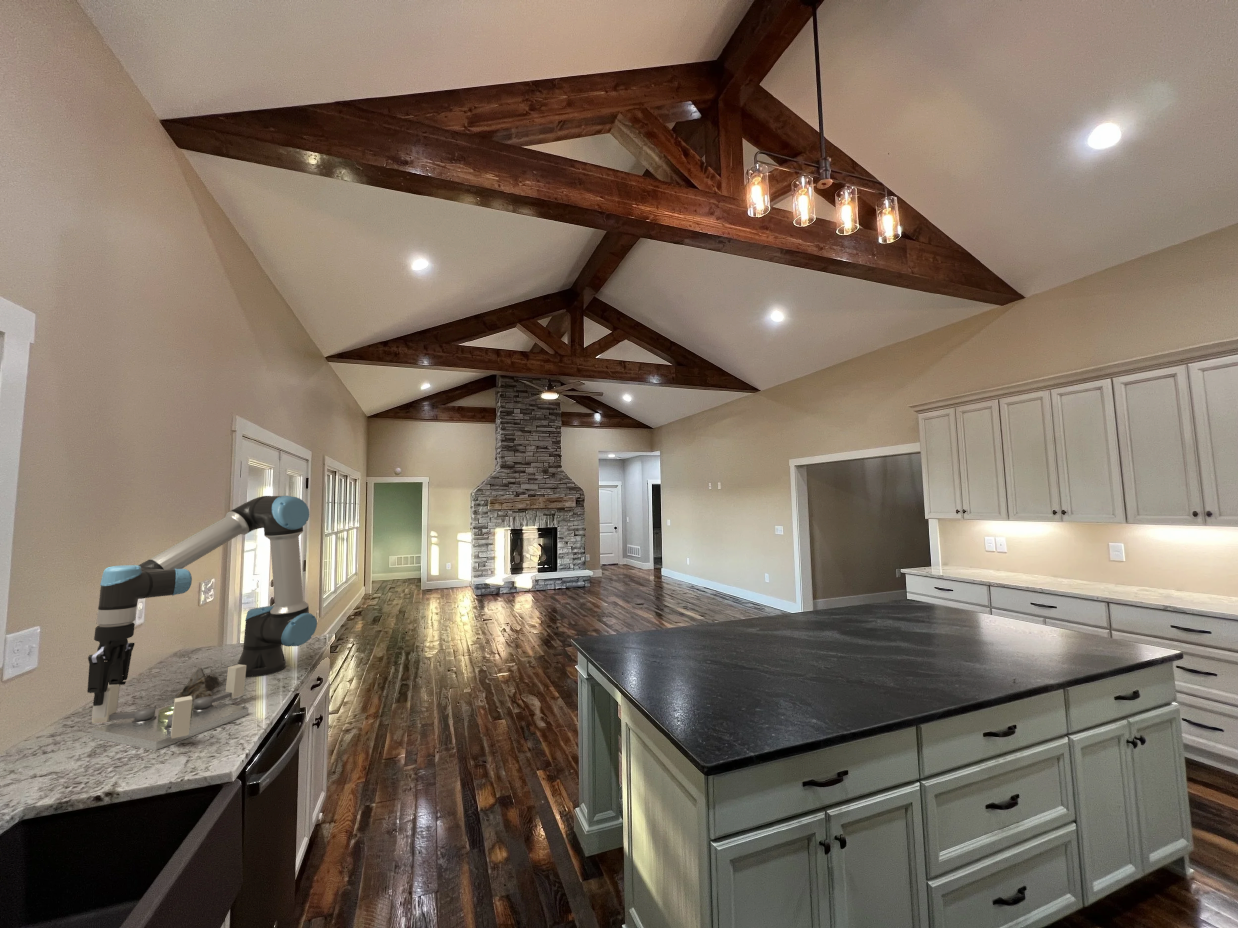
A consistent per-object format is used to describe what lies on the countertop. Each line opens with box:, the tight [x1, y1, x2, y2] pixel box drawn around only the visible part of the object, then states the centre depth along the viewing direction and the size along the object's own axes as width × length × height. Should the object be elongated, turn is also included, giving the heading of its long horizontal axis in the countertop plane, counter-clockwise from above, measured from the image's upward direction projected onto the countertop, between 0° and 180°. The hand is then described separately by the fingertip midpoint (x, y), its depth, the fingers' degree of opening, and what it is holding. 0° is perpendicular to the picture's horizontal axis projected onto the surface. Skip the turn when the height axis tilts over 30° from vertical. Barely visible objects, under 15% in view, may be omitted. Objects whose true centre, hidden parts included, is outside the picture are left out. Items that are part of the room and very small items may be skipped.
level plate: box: [91, 699, 249, 751], centre depth 135 cm, size 23×23×6 cm
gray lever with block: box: [194, 663, 246, 709], centre depth 147 cm, size 13×4×9 cm, turn 165°
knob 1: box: [91, 684, 157, 724], centre depth 133 cm, size 13×4×9 cm, turn 105°
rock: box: [172, 667, 222, 702], centre depth 159 cm, size 18×11×10 cm, turn 17°
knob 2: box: [167, 696, 192, 739], centre depth 128 cm, size 13×4×9 cm, turn 45°
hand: (104, 714), depth 131 cm, fingers closed on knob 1, 3 cm apart
